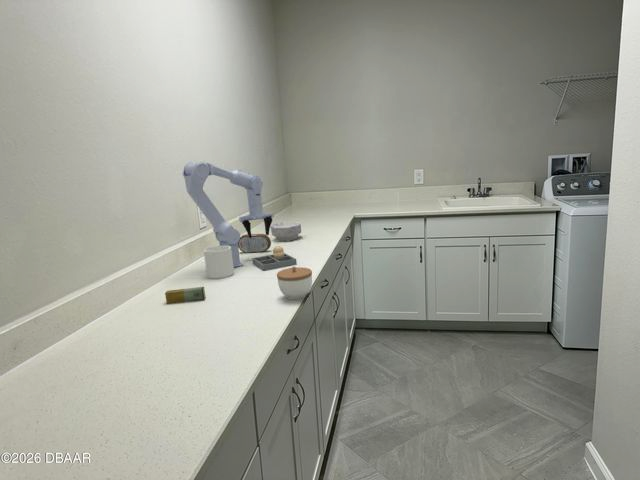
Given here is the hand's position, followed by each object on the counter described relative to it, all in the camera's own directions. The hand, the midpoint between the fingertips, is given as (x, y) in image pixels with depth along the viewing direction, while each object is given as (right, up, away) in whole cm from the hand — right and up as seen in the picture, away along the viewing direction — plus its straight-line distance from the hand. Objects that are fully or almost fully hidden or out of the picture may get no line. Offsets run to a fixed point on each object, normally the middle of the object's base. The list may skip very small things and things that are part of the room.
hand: (258, 236), depth 181 cm
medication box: (-16, -21, -46) cm, 53 cm away
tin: (-4, -7, +13) cm, 15 cm away
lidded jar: (+19, -19, -50) cm, 57 cm away
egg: (+9, -10, -6) cm, 15 cm away
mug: (-11, -15, -19) cm, 26 cm away
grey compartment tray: (+8, -11, -10) cm, 17 cm away
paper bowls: (+9, -1, +36) cm, 38 cm away
